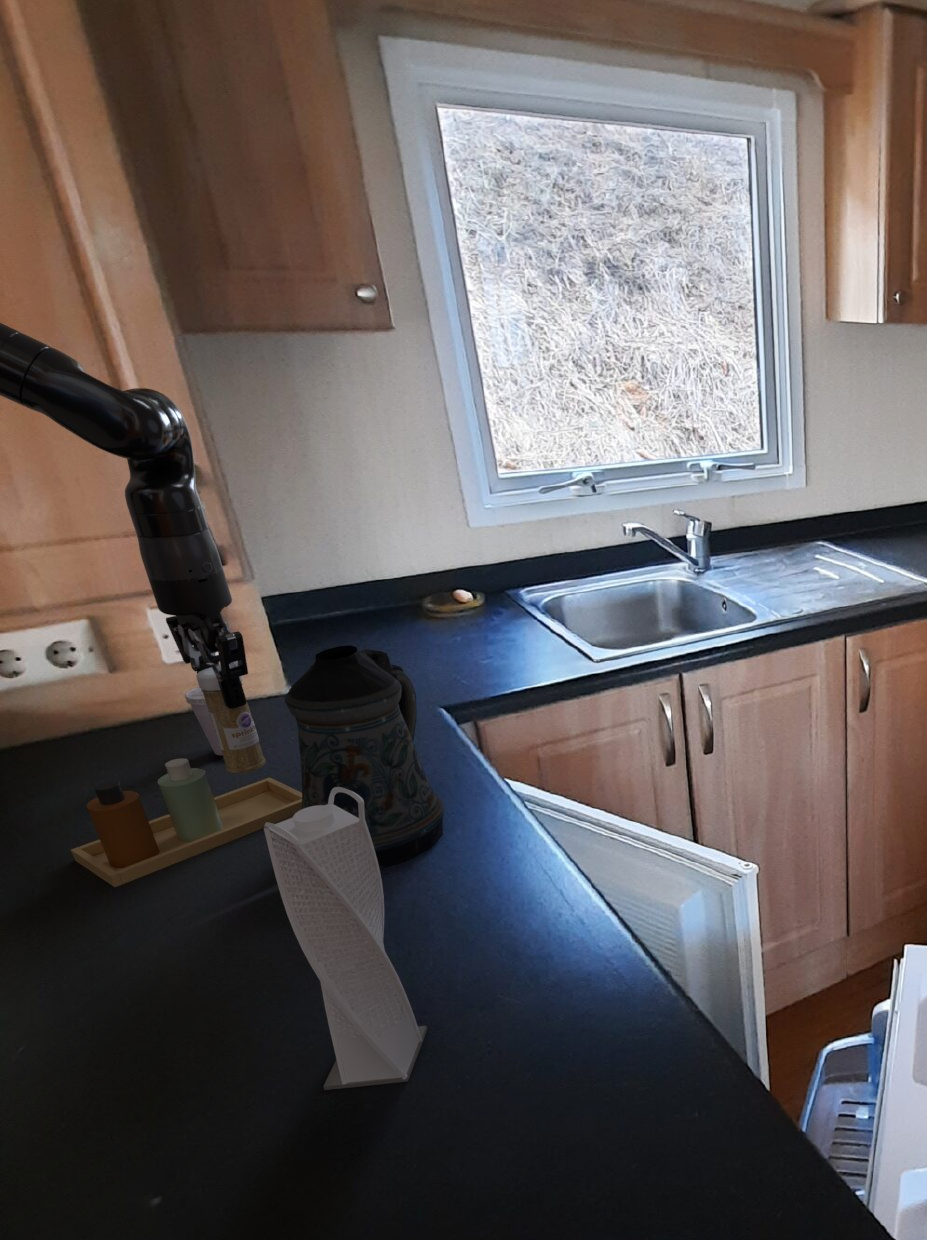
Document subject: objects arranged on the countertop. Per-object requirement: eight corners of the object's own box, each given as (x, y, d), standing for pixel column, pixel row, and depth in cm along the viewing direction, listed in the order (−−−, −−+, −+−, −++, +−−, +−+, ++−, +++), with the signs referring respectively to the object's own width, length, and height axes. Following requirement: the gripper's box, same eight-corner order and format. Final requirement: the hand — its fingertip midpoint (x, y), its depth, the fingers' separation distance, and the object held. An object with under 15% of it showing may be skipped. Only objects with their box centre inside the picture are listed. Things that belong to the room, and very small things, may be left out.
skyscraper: (443, 1027, 94) (379, 768, 82) (421, 1088, 87) (348, 815, 74) (349, 1036, 93) (270, 774, 80) (320, 1099, 86) (227, 823, 73)
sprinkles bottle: (255, 774, 126) (225, 677, 120) (218, 774, 126) (187, 677, 120) (273, 759, 130) (245, 664, 124) (238, 759, 130) (208, 664, 124)
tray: (116, 891, 114) (110, 876, 113) (76, 864, 119) (70, 849, 118) (315, 811, 132) (311, 797, 131) (273, 790, 137) (269, 777, 136)
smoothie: (196, 751, 147) (166, 664, 141) (241, 737, 152) (214, 652, 146) (216, 763, 144) (186, 674, 138) (261, 748, 149) (235, 661, 143)
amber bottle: (121, 872, 116) (91, 799, 112) (102, 860, 119) (72, 787, 114) (167, 854, 120) (140, 782, 116) (148, 843, 123) (121, 772, 118)
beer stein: (296, 884, 116) (236, 688, 105) (317, 810, 132) (266, 633, 121) (447, 859, 121) (405, 670, 110) (449, 791, 138) (413, 620, 126)
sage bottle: (189, 846, 122) (163, 774, 118) (169, 834, 124) (144, 764, 120) (231, 829, 126) (208, 760, 121) (211, 819, 128) (188, 750, 124)
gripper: (121, 566, 117) (166, 698, 124) (180, 586, 110) (224, 724, 118) (189, 554, 122) (228, 681, 130) (249, 572, 116) (286, 705, 123)
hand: (226, 701), depth 124 cm, fingers closed on sprinkles bottle, 4 cm apart
